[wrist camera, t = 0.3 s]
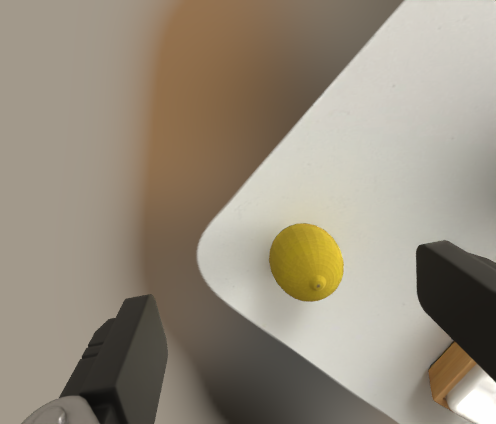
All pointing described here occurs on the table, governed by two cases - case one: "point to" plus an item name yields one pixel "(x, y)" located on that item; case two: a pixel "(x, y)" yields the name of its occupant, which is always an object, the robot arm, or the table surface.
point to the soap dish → (463, 386)
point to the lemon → (306, 262)
